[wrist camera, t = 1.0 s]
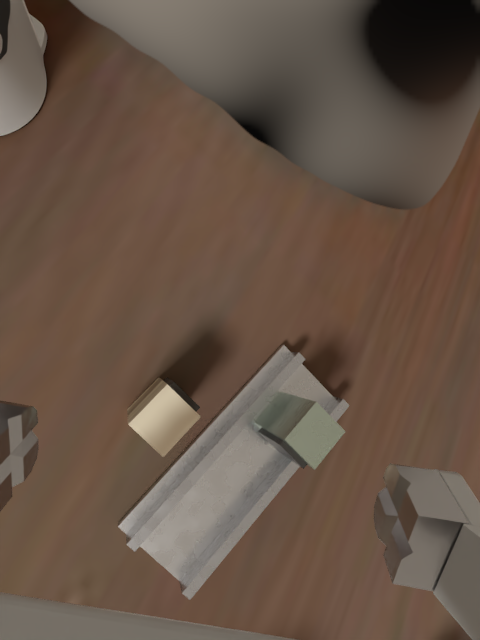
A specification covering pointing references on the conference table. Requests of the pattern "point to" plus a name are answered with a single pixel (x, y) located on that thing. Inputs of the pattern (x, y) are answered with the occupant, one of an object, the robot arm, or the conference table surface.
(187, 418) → the wooden block
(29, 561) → the conference table surface
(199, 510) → the rail
